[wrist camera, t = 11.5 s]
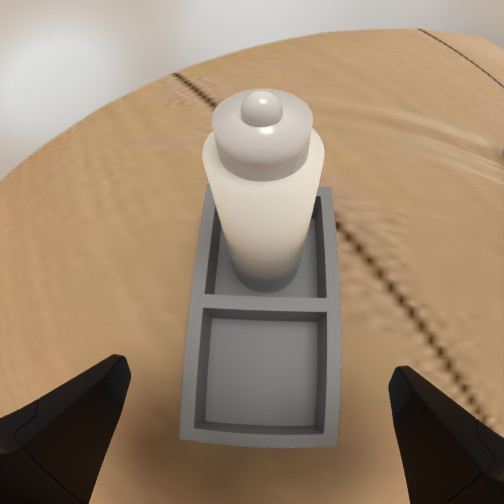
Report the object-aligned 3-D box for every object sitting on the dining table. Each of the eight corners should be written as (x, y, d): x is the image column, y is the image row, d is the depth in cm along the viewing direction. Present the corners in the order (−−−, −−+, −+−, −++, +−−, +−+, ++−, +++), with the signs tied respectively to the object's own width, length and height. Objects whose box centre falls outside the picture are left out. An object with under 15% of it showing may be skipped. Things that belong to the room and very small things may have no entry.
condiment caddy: (323, 433, 16) (337, 446, 12) (195, 427, 17) (179, 439, 13) (322, 217, 23) (331, 187, 19) (215, 214, 23) (207, 184, 20)
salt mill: (279, 304, 19) (298, 164, 7) (221, 273, 20) (159, 117, 8) (310, 249, 21) (351, 83, 8) (254, 222, 22) (238, 54, 9)
